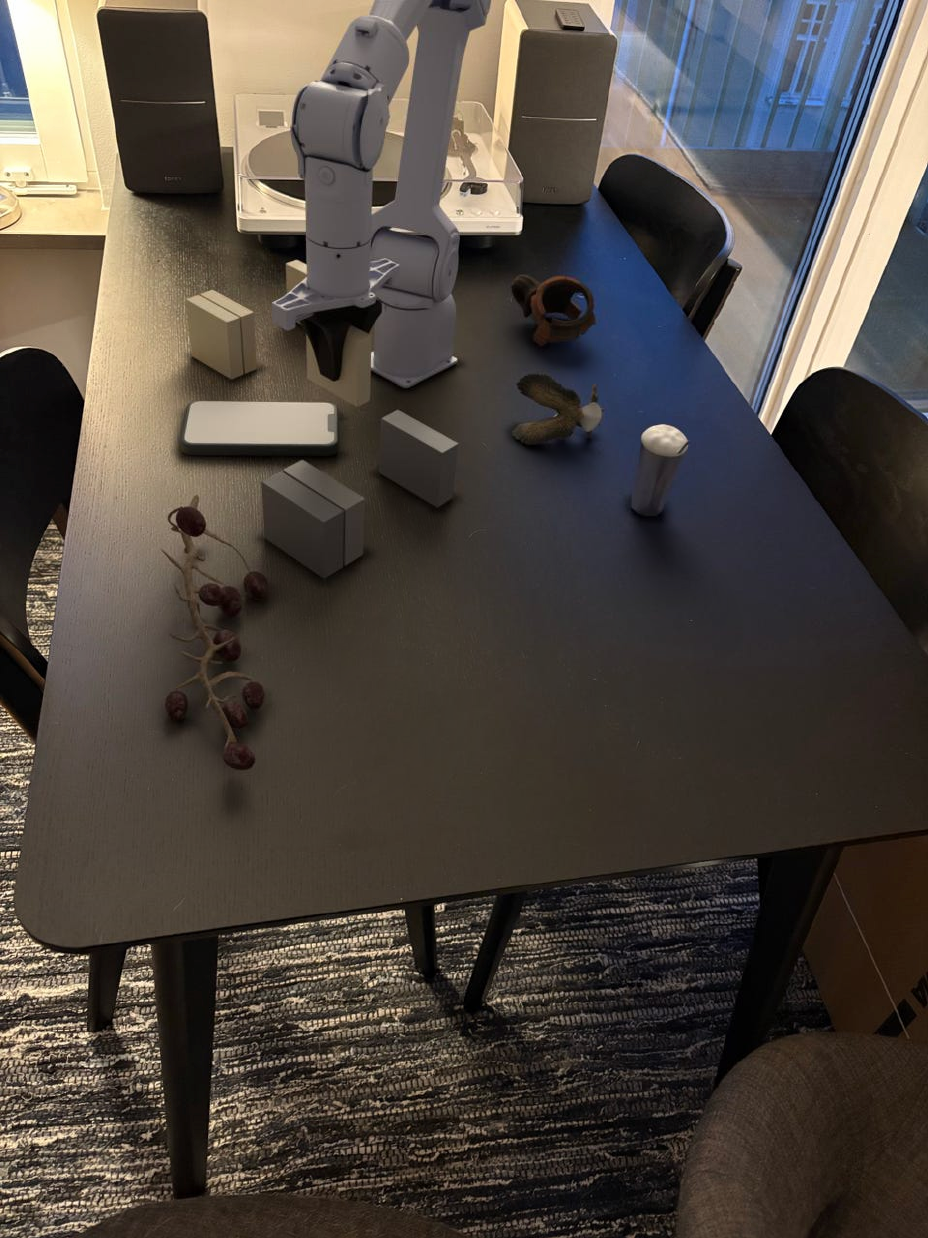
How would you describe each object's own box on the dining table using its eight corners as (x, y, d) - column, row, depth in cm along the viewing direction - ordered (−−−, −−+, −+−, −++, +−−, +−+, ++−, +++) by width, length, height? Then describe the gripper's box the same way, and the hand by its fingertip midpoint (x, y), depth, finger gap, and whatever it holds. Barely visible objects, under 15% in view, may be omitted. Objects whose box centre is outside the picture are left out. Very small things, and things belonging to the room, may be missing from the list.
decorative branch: (259, 732, 65) (140, 426, 79) (192, 804, 70) (90, 502, 84) (379, 732, 74) (252, 456, 88) (312, 796, 78) (201, 523, 92)
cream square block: (320, 372, 98) (319, 307, 93) (369, 400, 95) (372, 335, 90) (307, 378, 97) (305, 313, 92) (357, 407, 94) (358, 341, 89)
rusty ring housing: (599, 327, 128) (614, 290, 120) (563, 380, 126) (577, 346, 118) (521, 281, 129) (531, 241, 121) (485, 333, 126) (493, 296, 118)
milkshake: (645, 529, 97) (669, 445, 90) (615, 499, 100) (636, 415, 93) (681, 519, 98) (708, 436, 92) (651, 490, 102) (674, 407, 95)
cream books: (298, 313, 122) (296, 259, 117) (337, 334, 119) (337, 279, 114) (191, 355, 112) (185, 298, 108) (231, 379, 109) (226, 322, 105)
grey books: (394, 463, 101) (397, 409, 96) (452, 497, 97) (458, 443, 93) (264, 538, 90) (260, 481, 86) (324, 579, 87) (323, 522, 82)
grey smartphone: (180, 459, 98) (339, 459, 100) (177, 445, 97) (338, 446, 99) (188, 411, 105) (338, 413, 107) (187, 398, 103) (338, 400, 105)
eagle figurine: (581, 399, 111) (508, 387, 108) (610, 371, 105) (533, 357, 102) (582, 462, 109) (508, 451, 107) (612, 437, 103) (534, 425, 100)
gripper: (310, 274, 79) (312, 416, 89) (426, 229, 88) (417, 363, 97) (252, 244, 82) (260, 385, 92) (370, 204, 91) (367, 337, 100)
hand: (338, 372), depth 95 cm, fingers closed on cream square block, 2 cm apart
